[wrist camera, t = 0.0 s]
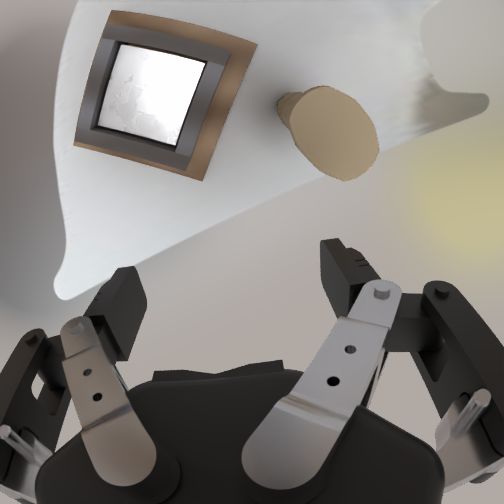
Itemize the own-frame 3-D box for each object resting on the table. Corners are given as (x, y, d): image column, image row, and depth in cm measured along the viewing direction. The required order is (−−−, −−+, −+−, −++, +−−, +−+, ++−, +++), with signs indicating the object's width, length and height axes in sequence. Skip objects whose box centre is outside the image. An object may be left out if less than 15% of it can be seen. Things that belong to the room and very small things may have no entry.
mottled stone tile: (124, 45, 21) (121, 44, 20) (205, 64, 23) (204, 63, 22) (100, 123, 25) (97, 125, 24) (176, 143, 27) (175, 145, 26)
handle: (294, 141, 31) (339, 194, 19) (253, 101, 28) (273, 123, 16) (326, 113, 29) (391, 148, 17) (286, 71, 27) (332, 71, 14)
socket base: (116, 12, 21) (96, 3, 16) (256, 45, 25) (261, 39, 20) (78, 142, 29) (56, 155, 24) (203, 176, 33) (199, 195, 28)
